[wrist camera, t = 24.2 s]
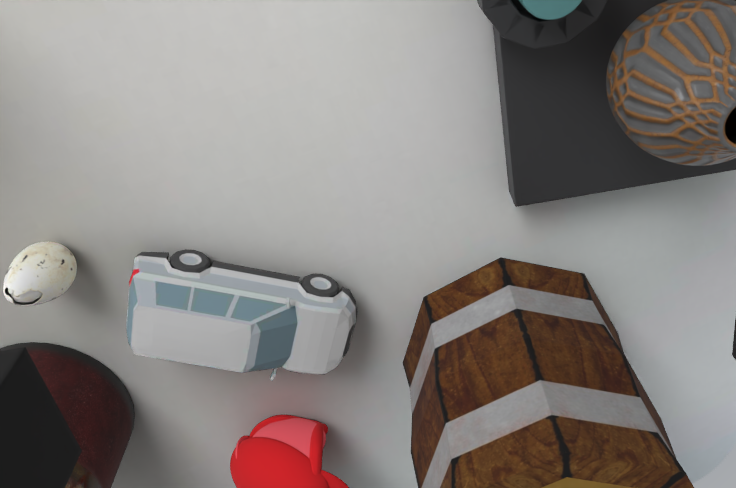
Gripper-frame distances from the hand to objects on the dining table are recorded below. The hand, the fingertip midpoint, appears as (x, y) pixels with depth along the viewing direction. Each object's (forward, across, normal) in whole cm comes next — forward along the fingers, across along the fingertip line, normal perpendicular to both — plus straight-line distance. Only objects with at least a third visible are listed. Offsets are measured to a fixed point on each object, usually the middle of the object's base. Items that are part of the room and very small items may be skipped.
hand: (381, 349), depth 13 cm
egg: (+25, -20, -9) cm, 33 cm away
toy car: (+25, -10, -14) cm, 30 cm away
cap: (+25, -10, -26) cm, 37 cm away
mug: (+25, +5, -24) cm, 35 cm away
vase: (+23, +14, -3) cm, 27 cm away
